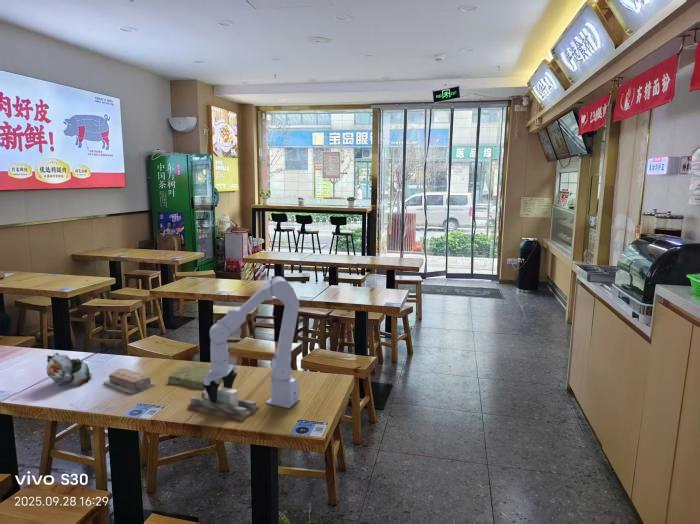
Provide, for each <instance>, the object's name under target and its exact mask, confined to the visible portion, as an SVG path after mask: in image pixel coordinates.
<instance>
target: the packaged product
mask: <svg viewBox="0 0 700 524" xmlns="http://www.w3.org/2000/svg"><path fill="white" fill-rule="evenodd" d="M155 383H156V382H154V381H152V380H151V378H150V376H148V375H145V374H142V373H139V372H136V371H134V370H130V369H127V368H119V369H118V368H117V370H115V371H114V372H111V373H110V374H109V375H108V379H107V380H105V381H103V384H104V385H106V384H107V385H106V386H110V387H111V386H113V387H112V388H114V387H115V388H114V389H116V388H117V390H119V389H120V390H119V391H122V390H123V391H122V392H126V393H128V394H131V395H134V394H137V393H140V392H142V391H145V390H147V389H149V388H152V387H154V386H155ZM155 387H156V386H155ZM144 389H145V390H144Z"/></svg>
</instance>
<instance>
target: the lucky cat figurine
mask: <svg viewBox="0 0 700 524" xmlns="http://www.w3.org/2000/svg"><path fill="white" fill-rule="evenodd" d="M46 358H47V359H46V362H47V365H46V368H45V370H46V374H47V376H48V377H49V378H50V379H51V380H53V381H54V383H55V385H56V384H57V385H73V386H82V384H83V385H85V384H87V383H88V382H89V381H91V380H92V379H93V377H92V376H93V375H92V374H93V373H91V372H90V369H89V366H88V363H86V362H84V361H83V360H81V359H80V358H71V359H70V357H69V356H68V355H67V354H59V353H58V352H55V353H53V355H47V356H46ZM86 382H87V383H86ZM84 383H85V384H84Z"/></svg>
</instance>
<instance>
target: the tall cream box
mask: <svg viewBox="0 0 700 524" xmlns="http://www.w3.org/2000/svg"><path fill="white" fill-rule="evenodd" d="M203 391H205V399H207V400H210V399H209V396H208V393H207V391H206V389H205V388H203ZM238 398H239V390H238V389H234V388H232V389H230V388H225V387H224V386H220V385H219V387H218V392H217V402H220V403H225V404H229V405H234V406H238V407H239V405H238Z"/></svg>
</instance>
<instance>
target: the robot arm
mask: <svg viewBox="0 0 700 524" xmlns="http://www.w3.org/2000/svg"><path fill="white" fill-rule="evenodd" d="M274 297H275V298H276V299H277V300H278V301H280V302H281V303H282V304H283V305H284V308H283V315H282V318H281V325H280V330H279V334H278V335H279V337H278V341H277V346H276V350H275V352H274V355H273V357H272V358H271V360H270V364H269V365H270V367H271V369H272V373H271V375H270V398H269V399H268V400H267V401H265V404H268V405H274V406H277V407H282V408H286V409H290V408H291V407H292V406H294V405H295V404H296V403H297V402H298V401H300V400H301V398H300V382H299V381H298V379H296V378H294V377H293V376H292V371H293V369H292V367H291V363H292V354H291V353H292V347H293V342H294V336H295V330H296V325H297V322H298V321H297V320H298V315H299V309H300V301H299V299H298V296H297V294H296V291H295V290H294V288H293V287H292V286H291V283H289V282H288V281H287V279H286V278H284V277H282V276H273V277H272V278H271V279H270V281H267V282H265V283H264V284H263V285H262V286H261V287H260V288H259V289H258V290H257V291H256V292H255V293H254V294H253V295H252V296H251V297H250V298H249V299H248V300H247V301H245V303H243V305H241V306H240V307H234V308H232V309H231V308H230V309H229V310H227V314H226V315H224V316H223V317H222V318H221V319H218V320H217V321H216V323H213V325H212V326H210V329H209V338H210V347H209V350H210V353H209V355H210V364H211V370H209V374H208V376H207V377H206V378H204V379H203V383H202V384H203V387H204V388H205V389H206V391H207V393H208V396H209V399H210V402H213V403H216V402H217V392H218V387H219V386H220V384H221V383H220V384H217V383H216V382H215V380H217V379H219V378H221V377H222V379H223V381H222V382H223V387H225V388H230V389H233V385H234V381H236V380H235V379H236V377H237V376H238V374H237V371H236V365H235V364H229V345H228V339H229V335H230V334H231V335H232V333H234V332H235V331H236V330H238V328H239V327H240V326H242V324H244V323H245V322H246V320H247V315H248V314H250V313H251V312H252V311H253V310H254V309H256V308H257V307H259V305H261V304H262V303H263V302H265V301H274ZM233 371H234V372H233ZM204 388H203V389H204Z"/></svg>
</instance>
